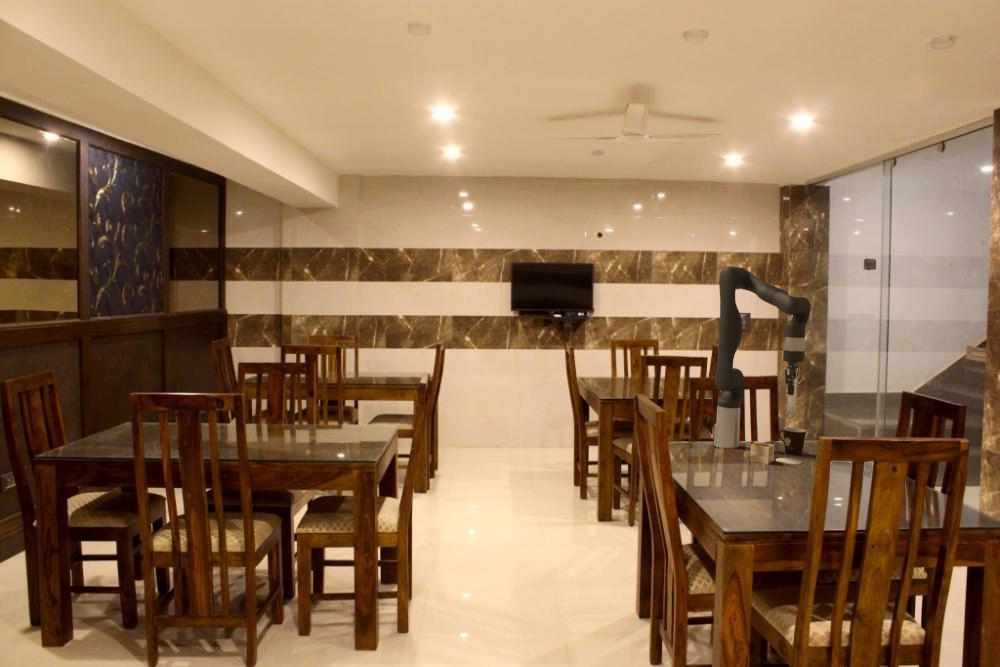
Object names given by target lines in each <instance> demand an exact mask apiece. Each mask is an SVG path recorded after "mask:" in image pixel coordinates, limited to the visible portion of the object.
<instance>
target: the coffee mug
mask: <svg viewBox="0 0 1000 667" xmlns="http://www.w3.org/2000/svg"><path fill="white" fill-rule="evenodd" d="M781 432H782V433H783V438H782V436H781ZM806 434H807V430H806V429H803V428H797V427H783V429H780V430H779V431H778V437H779V439H780V441H781V442H782V443H783V445H784V446H783V447H784V454H786V455H794V456H798V457H802V456H803V451H804V446H805V440H806V436H807V435H806ZM801 455H802V456H801Z"/></svg>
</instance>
